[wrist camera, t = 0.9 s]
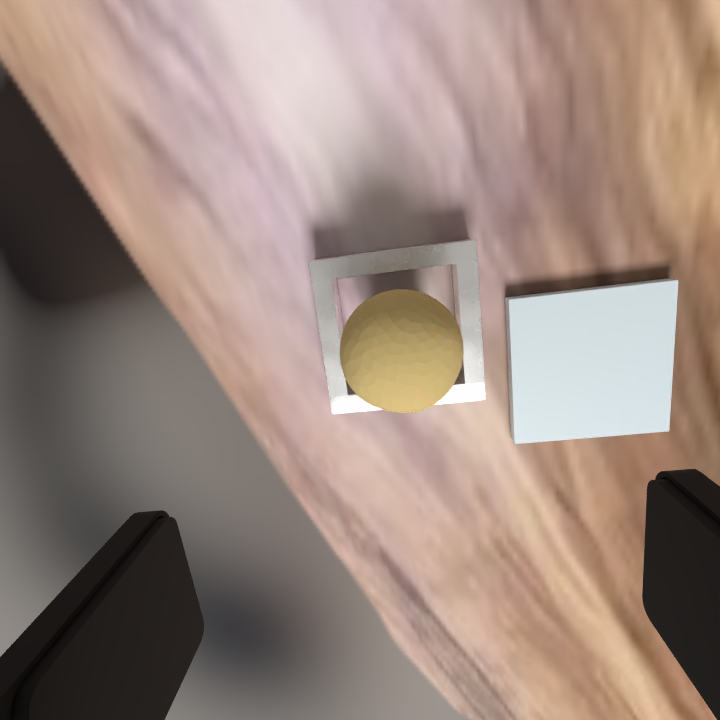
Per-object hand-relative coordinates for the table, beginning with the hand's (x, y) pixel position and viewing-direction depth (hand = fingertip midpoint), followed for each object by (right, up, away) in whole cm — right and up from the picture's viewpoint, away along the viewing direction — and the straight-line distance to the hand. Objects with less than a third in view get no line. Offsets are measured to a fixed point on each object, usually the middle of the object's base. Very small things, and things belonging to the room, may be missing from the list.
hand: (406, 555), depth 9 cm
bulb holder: (+2, +6, +21) cm, 22 cm away
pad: (+14, +4, +21) cm, 25 cm away
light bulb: (+2, +6, +21) cm, 22 cm away
